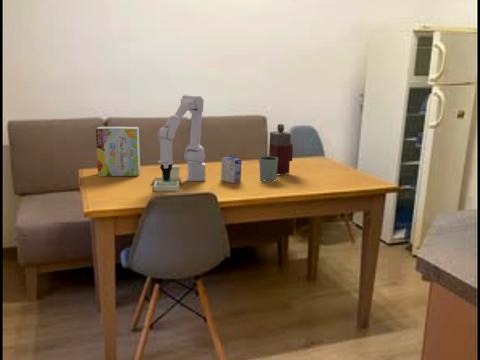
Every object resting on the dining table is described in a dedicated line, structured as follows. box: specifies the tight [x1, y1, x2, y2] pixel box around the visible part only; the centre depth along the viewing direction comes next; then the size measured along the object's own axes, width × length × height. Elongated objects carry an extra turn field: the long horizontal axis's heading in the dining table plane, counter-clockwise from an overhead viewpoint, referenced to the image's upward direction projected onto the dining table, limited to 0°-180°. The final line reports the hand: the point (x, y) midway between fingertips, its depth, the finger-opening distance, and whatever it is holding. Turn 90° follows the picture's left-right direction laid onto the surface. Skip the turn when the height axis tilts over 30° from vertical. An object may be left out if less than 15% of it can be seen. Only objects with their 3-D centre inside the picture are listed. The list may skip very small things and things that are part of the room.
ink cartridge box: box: [220, 152, 242, 184], centre depth 261 cm, size 10×6×14 cm, turn 48°
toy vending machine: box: [268, 123, 294, 174], centre depth 281 cm, size 9×11×28 cm
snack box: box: [95, 126, 141, 177], centre depth 266 cm, size 22×9×26 cm, turn 95°
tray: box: [153, 181, 180, 192], centre depth 244 cm, size 12×11×2 cm
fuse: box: [171, 165, 180, 179], centre depth 253 cm, size 4×3×8 cm
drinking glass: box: [258, 155, 278, 182], centre depth 266 cm, size 10×10×12 cm
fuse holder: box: [152, 176, 182, 186], centre depth 253 cm, size 14×7×3 cm, turn 96°
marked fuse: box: [161, 172, 171, 185], centre depth 242 cm, size 4×3×8 cm
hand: (166, 179), depth 243 cm, fingers closed on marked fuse, 3 cm apart
